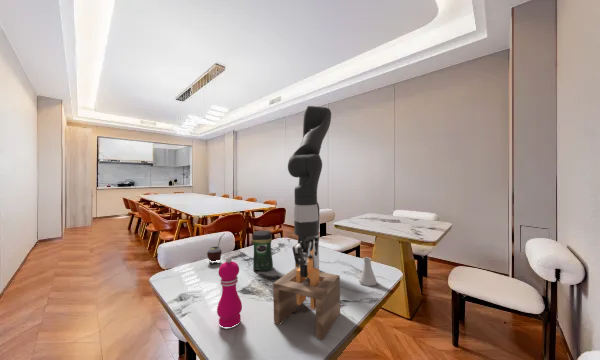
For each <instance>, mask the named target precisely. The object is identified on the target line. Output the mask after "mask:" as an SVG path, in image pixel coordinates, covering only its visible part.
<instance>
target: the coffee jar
mask: <svg viewBox="0 0 600 360" xmlns="http://www.w3.org/2000/svg"><path fill="white" fill-rule="evenodd" d="M251 238H252V239H251V241H252V244H253V257H252V259H253V261H252V263H253V264H252V269H253V271H255V270H259V271H258V272H264V271H265V272H266V271H271V270H272V269H273V267H274V263H273V262H274V261H273V255H272V240H273V235H272V231H271V230H255V231H253V233H252V237H251Z"/></svg>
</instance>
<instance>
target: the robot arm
mask: <svg viewBox="0 0 600 360" xmlns="http://www.w3.org/2000/svg"><path fill="white" fill-rule="evenodd" d="M331 121H332V112H331V109H330V108H328V107H325V106H313V105H308V106H306V107H305V109H304V112H303V125H302V140H301V143H300V145H299V147H298V148H297V149H296V150H295V151H294V152H293V153H292V155H291V156H290V158H289V160H288V162H287V170H288V173H289V175H290V176H292V177H293V178H298V179H299V180H298V185H296V186H295V187H294V208H293V209H294V210H293V215H294V216H293V219H294V221H293V228H294V229H293V231H294V235H295V236H297V237H298V238H297V246H295V245H293V246H292V249H291V250H292V253H293V258H294V264H295V263H296V264H299V268H300V276H301V277H305V278H306V277H307V276H308V271H307V261H308V258H313V268H316V269H319V270H320V249H319V248H320V246H319V245H320V244H319V241H320V237H319V230H320V206H319V205H320V204H319V203H318V185H319V181H320V176H321V173H322V169H323V160H322V158H321V156H320V153H321V148H322V143H323V141H324V139H325V137H326V135H327V133H328V132H329V129H330V126H331V123H332V122H331ZM298 258H299V260H298ZM306 279H307V278H306Z"/></svg>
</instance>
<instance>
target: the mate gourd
mask: <svg viewBox="0 0 600 360" xmlns="http://www.w3.org/2000/svg"><path fill="white" fill-rule="evenodd" d="M224 235H225V232H224V233H223V234H222V235H221V236H220V237H219V239H218V243H217V246H212V247H211V246H210V247H209V248H208V249H207V253H206V256H207V259H208V260H211V261H216V260H220V261H221V257H222V249H221V248H220V246H219V245H220V242H221V239H222V237H223V236H224Z"/></svg>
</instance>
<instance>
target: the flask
mask: <svg viewBox="0 0 600 360" xmlns="http://www.w3.org/2000/svg"><path fill="white" fill-rule="evenodd" d="M362 259H363V268H362V272H361V274H360V277H359V280H358V282H359V283H360V284H361V286H367V287H372V286H374V287H375V286H376V285H377V283H378V281H377V278H376V276H375V273H374V271H373V267H372V263H371V262H372V258H371V257H368V256H366V257H363V258H362Z"/></svg>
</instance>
